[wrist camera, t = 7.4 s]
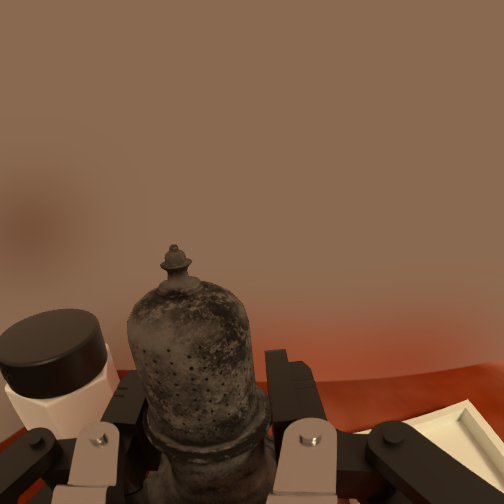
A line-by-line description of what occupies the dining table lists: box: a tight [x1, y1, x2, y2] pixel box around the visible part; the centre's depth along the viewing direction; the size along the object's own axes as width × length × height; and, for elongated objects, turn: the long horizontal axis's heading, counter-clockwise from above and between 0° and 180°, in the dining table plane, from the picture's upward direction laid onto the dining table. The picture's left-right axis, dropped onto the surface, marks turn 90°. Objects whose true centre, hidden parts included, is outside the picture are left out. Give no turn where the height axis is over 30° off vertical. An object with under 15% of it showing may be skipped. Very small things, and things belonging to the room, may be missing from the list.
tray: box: [349, 400, 504, 504], centre depth 13 cm, size 12×14×2 cm
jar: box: [0, 309, 120, 440], centre depth 18 cm, size 9×8×12 cm
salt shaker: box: [127, 245, 277, 504], centre depth 8 cm, size 6×6×12 cm
